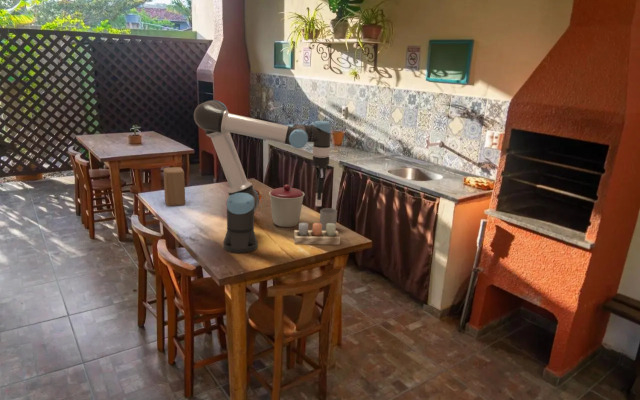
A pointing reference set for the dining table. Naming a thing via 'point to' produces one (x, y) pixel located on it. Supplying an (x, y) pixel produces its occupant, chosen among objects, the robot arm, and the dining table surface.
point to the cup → (327, 217)
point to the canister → (286, 205)
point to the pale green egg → (330, 229)
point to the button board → (316, 238)
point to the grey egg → (303, 229)
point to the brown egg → (317, 229)
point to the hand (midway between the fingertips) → (318, 205)
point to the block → (174, 186)
